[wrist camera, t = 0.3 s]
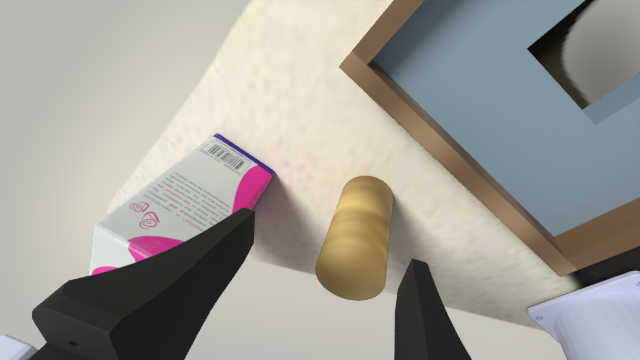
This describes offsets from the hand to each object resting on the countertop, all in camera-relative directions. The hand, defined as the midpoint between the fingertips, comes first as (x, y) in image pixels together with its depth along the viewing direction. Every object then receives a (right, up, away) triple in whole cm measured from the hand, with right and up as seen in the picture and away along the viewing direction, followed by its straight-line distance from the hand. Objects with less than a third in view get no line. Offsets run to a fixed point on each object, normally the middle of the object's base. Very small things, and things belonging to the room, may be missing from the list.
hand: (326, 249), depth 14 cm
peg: (+3, +2, +10) cm, 11 cm away
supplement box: (-8, +3, +13) cm, 15 cm away
